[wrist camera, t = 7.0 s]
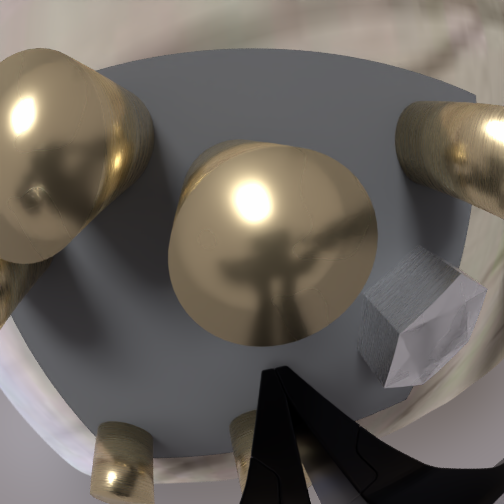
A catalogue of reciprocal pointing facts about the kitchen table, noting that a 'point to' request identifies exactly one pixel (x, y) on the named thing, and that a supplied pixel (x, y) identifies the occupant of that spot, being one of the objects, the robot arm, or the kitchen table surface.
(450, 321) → the clear faceted crystal
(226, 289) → the brass spacers
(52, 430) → the kitchen table surface
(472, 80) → the kitchen table surface
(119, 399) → the mat
